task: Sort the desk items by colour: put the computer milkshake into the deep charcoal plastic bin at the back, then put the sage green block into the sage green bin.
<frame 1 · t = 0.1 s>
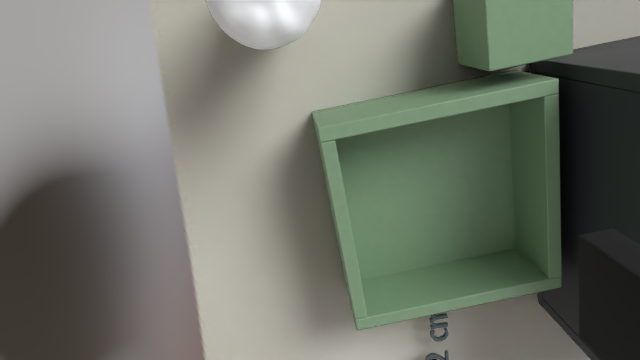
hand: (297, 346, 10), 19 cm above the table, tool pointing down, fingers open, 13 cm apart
green block: (491, 18, 27), on the table
green bin: (425, 186, 30), on the table
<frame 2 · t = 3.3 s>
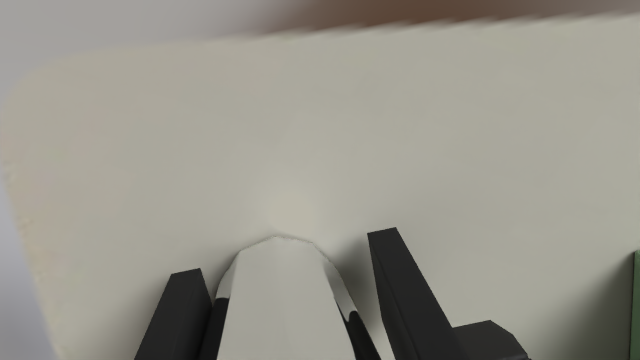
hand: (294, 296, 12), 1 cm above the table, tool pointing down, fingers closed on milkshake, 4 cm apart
milkshake: (293, 278, 13), on the table, touching gripper
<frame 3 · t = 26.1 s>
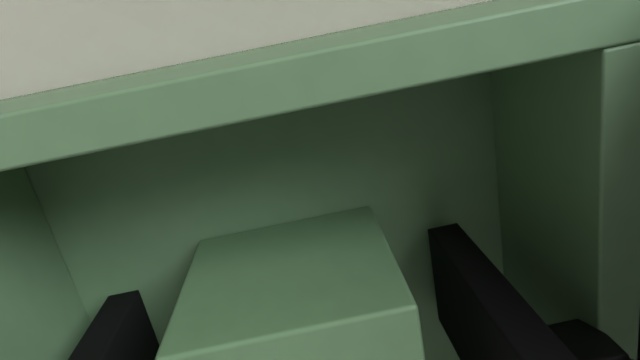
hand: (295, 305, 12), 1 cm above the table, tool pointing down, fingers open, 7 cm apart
green block: (302, 295, 12), point 1 cm above the table, touching green bin
green bin: (299, 280, 13), on the table
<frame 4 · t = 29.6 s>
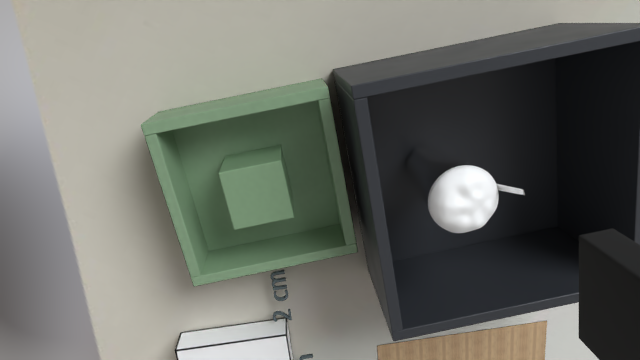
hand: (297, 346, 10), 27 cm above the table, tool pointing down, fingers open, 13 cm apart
dark bin: (457, 155, 38), on the table
green block: (259, 176, 36), point 1 cm above the table, touching green bin
milkshake: (430, 160, 37), resting in dark bin
green bin: (259, 172, 37), on the table
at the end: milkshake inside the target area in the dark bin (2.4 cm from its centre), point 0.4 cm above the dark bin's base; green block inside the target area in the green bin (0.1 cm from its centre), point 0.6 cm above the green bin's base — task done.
